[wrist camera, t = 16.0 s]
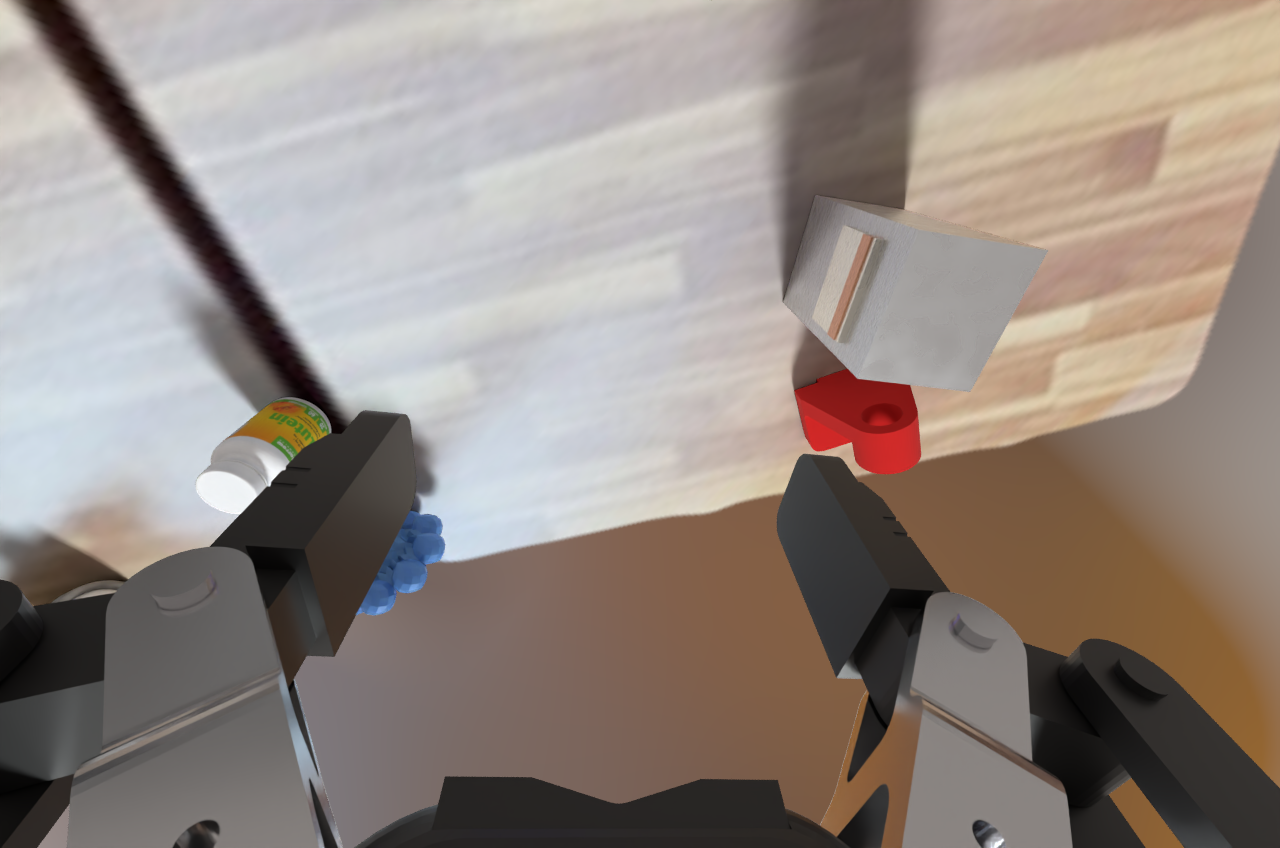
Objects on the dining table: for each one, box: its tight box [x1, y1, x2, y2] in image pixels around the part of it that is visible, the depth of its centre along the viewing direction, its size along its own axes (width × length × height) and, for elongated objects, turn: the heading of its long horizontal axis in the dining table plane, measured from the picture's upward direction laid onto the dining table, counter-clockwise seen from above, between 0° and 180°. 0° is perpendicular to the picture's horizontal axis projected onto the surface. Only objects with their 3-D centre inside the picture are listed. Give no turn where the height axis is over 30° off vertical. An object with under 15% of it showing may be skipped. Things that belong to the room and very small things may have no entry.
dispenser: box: [783, 195, 1048, 392], centre depth 32 cm, size 8×8×14 cm
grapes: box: [356, 511, 445, 615], centre depth 43 cm, size 12×7×12 cm, turn 111°
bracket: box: [794, 369, 921, 474], centre depth 41 cm, size 9×6×10 cm
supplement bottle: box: [196, 397, 331, 514], centre depth 39 cm, size 5×5×10 cm
